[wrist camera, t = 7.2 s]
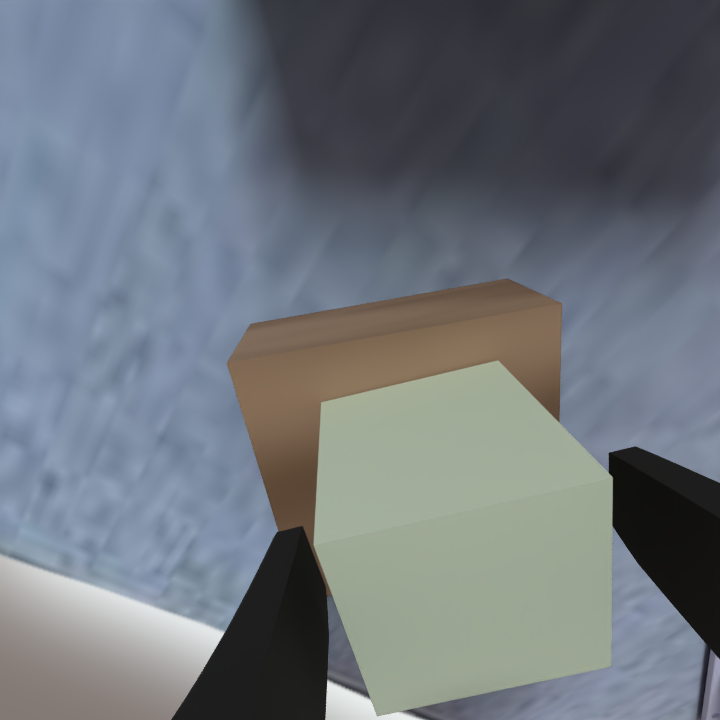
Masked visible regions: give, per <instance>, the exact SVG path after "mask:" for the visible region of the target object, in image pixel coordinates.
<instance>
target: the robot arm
mask: <svg viewBox="0 0 720 720" xmlns="http://www.w3.org/2000/svg"><path fill="white" fill-rule="evenodd" d="M609 474H610V475H611V476H612V477H613V506H612V526H613V527H614V529H615V530H616V532H617V533H618V535H619V536H620V538H621V539H622V541H623V542H624V544H625V545H626V547H627V548H628V550H629V551H630V553H631V554H632V555H633V557H634V558H635V560H636V561H637V563H638V564H639V565H640V566H641V568H642V569H643V570H644V571H645V572H646V574H647V575H648V576H649V577H650V578H651V580H652V581H653V582H654V583H655V584H656V586H657V587H658V588H659V589H660V590H661V591H662V593H663V594H664V595H665V596H666V597H667V599H668V600H669V601H670V602H671V603H672V604H673V606H674V607H675V608H676V609H677V610H678V611H679V613H680V614H681V615H682V616H683V617H684V618H685V620H686V621H687V622H688V623H689V624H690V625H691V627H692V628H693V629H694V630H695V631H696V632H697V634H698V635H699V636H700V637H701V638H702V639H703V641H704V642H705V643H706V644H707V645H708V646H709V648H710V649H711V651H710V658H709V665H708V673H707V680H706V687H705V695H704V702H703V709H702V717H701V720H720V483H719V482H716V481H714V480H712V479H710V478H707V477H705V476H703V475H700V474H698V473H696V472H694V471H691V470H689V469H687V468H685V467H682V466H680V465H678V464H676V463H673V462H671V461H669V460H667V459H664V458H662V457H660V456H657V455H655V454H653V453H650V452H648V451H645V450H643V449H640V448H638V447H631V448H627V449H623V450H618V451H614V452H610V453H609ZM328 645H329V628H328V610H327V595H326V586H325V583H324V581H323V578H322V575H321V573H320V570H319V567H318V565H317V562H316V559H315V557H314V554H313V552H312V549H311V546H310V544H309V541H308V538H307V536H306V533H305V530H304V528H303V526H300V527H295V528H291V529H287V530H283V531H279V532H277V533H276V535H275V536H274V538H273V540H272V542H271V544H270V546H269V548H268V550H267V553H266V555H265V557H264V559H263V561H262V563H261V565H260V567H259V569H258V571H257V573H256V575H255V577H254V579H253V581H252V583H251V585H250V587H249V589H248V591H247V593H246V594H245V596H244V598H243V600H242V602H241V604H240V606H239V608H238V609H237V611H236V613H235V615H234V617H233V619H232V621H231V622H230V624H229V626H228V628H227V630H226V631H225V633H224V635H223V637H222V638H221V640H220V642H219V644H218V645H217V647H216V649H215V650H214V652H213V654H212V655H211V657H210V659H209V661H208V662H207V664H206V666H205V667H204V669H203V671H202V672H201V674H200V676H199V677H198V679H197V681H196V682H195V684H194V685H193V687H192V689H191V690H190V692H189V693H188V695H187V697H186V698H185V700H184V701H183V703H182V704H181V706H180V707H179V709H178V710H177V712H176V713H175V715H174V716H173V718H172V719H171V720H325V714H326V713H325V712H326V692H327V670H328Z"/></svg>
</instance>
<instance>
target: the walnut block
mask: <svg viewBox="0 0 720 720" xmlns="http://www.w3.org/2000/svg"><path fill="white" fill-rule="evenodd" d="M561 323H562V303H560V302H558V301H555V300H553V299H551V298H549V297H547V296H544V295H542V294H540V293H538V292H536V291H533V290H531V289H529V288H527V287H525V286H522V285H520V284H518V283H516V282H514V281H511V280H509V279H503V280H497V281H491V282H486V283H480V284H474V285H469V286H463V287H457V288H452V289H446V290H440V291H435V292H429V293H423V294H418V295H412V296H406V297H401V298H395V299H389V300H384V301H378V302H372V303H367V304H361V305H355V306H350V307H344V308H338V309H333V310H327V311H321V312H316V313H310V314H304V315H299V316H293V317H287V318H282V319H276V320H270V321H265V322H259V323H253V324H250V326H249V328H248V329H247V331H246V333H245V334H244V336H243V337H242V339H241V341H240V342H239V344H238V346H237V347H236V349H235V351H234V352H233V354H232V355H231V357H230V359H229V360H228V362H227V365H228V368H229V372H230V375H231V378H232V381H233V385H234V388H235V391H236V394H237V398H238V401H239V404H240V407H241V411H242V414H243V417H244V420H245V424H246V427H247V430H248V433H249V437H250V440H251V443H252V446H253V450H254V453H255V456H256V459H257V463H258V466H259V469H260V472H261V476H262V479H263V482H264V485H265V488H266V492H267V495H268V498H269V501H270V505H271V508H272V511H273V514H274V518H275V521H276V524H277V527H278V531H283V530H287V529H291V528H295V527H300V526H303V528H304V530H305V533H306V536H307V538H308V541H309V544H310V546H311V549H312V552H313V554H314V557H315V559H316V562H317V565H318V567H319V570H320V573H321V575H322V578H323V581H324V583H325V586H326V595H327V596H329V595H332V593H331V591H330V588H329V585H328V583H327V580H326V577H325V575H324V572H323V569H322V567H321V564H320V561H319V558H318V556H317V553H316V550H315V548H314V527H315V509H316V490H317V471H318V453H319V434H320V416H321V402H325V401H329V400H333V399H337V398H342V397H346V396H350V395H354V394H359V393H363V392H367V391H371V390H375V389H380V388H384V387H388V386H392V385H397V384H401V383H405V382H409V381H413V380H418V379H422V378H426V377H430V376H435V375H439V374H443V373H447V372H451V371H456V370H460V369H464V368H468V367H472V366H477V365H481V364H485V363H489V362H494V361H499V362H500V363H501V364H502V365H503V366H504V367H505V368H506V369H507V370H508V371H509V372H510V373H511V374H512V375H513V376H514V377H515V378H516V379H517V380H518V381H519V382H520V383H521V384H522V385H523V386H524V387H525V388H526V389H527V390H528V391H529V392H530V393H531V394H532V395H533V396H534V397H535V399H536V400H537V401H538V402H539V403H540V404H541V405H542V406H543V407H544V408H545V409H546V410H547V411H548V412H549V413H550V414H551V415H552V416H553V417H554V418H555V419H556V420H557V421H558V422H559V411H560V367H561Z"/></svg>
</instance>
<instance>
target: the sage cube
mask: <svg viewBox="0 0 720 720" xmlns="http://www.w3.org/2000/svg"><path fill="white" fill-rule="evenodd" d="M612 506H613V477H612V476H611V475H610V474H609V473H608V472H607V471H606V470H605V469H604V468H603V467H602V466H601V465H600V464H599V463H598V462H597V461H596V460H595V459H594V458H593V457H592V456H591V455H590V454H589V453H588V452H587V451H586V450H585V449H584V448H583V447H582V446H581V444H580V443H579V442H578V441H577V440H576V439H575V438H574V437H573V436H572V435H571V434H570V433H569V432H568V431H567V430H566V429H565V428H564V427H563V426H562V425H561V424H560V423H559V422H558V421H557V420H556V419H555V418H554V417H553V416H552V415H551V414H550V413H549V412H548V411H547V410H546V409H545V408H544V407H543V406H542V405H541V404H540V403H539V402H538V401H537V400H536V399H535V397H534V396H533V395H532V394H531V393H530V392H529V391H528V390H527V389H526V388H525V387H524V386H523V385H522V384H521V383H520V382H519V381H518V380H517V379H516V378H515V377H514V376H513V375H512V374H511V373H510V372H509V371H508V370H507V369H506V368H505V367H504V366H503V365H502V364H501V363H500V362H499V361H494V362H489V363H485V364H481V365H477V366H472V367H468V368H464V369H460V370H456V371H451V372H447V373H443V374H439V375H435V376H430V377H426V378H422V379H418V380H413V381H409V382H405V383H401V384H397V385H392V386H388V387H384V388H380V389H375V390H371V391H367V392H363V393H359V394H354V395H350V396H346V397H342V398H337V399H333V400H329V401H325V402H321V416H320V434H319V453H318V471H317V490H316V509H315V527H314V548H315V550H316V553H317V556H318V558H319V561H320V564H321V567H322V569H323V572H324V575H325V577H326V580H327V583H328V585H329V588H330V591H331V593H332V596H333V599H334V601H335V604H336V607H337V610H338V612H339V615H340V618H341V620H342V623H343V626H344V628H345V631H346V634H347V636H348V639H349V642H350V644H351V647H352V650H353V653H354V655H355V658H356V661H357V663H358V666H359V669H360V671H361V674H362V677H363V679H364V682H365V685H366V688H367V690H368V693H369V696H370V698H371V701H372V704H373V706H374V709H375V712H376V714H377V716H380V715H385V714H390V713H394V712H399V711H404V710H409V709H414V708H418V707H423V706H428V705H432V704H437V703H442V702H447V701H451V700H456V699H461V698H466V697H470V696H475V695H480V694H484V693H489V692H494V691H499V690H503V689H508V688H513V687H517V686H522V685H527V684H532V683H536V682H541V681H546V680H550V679H555V678H560V677H565V676H569V675H574V674H579V673H583V672H588V671H593V670H598V669H602V668H607V667H611V616H612Z"/></svg>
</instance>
